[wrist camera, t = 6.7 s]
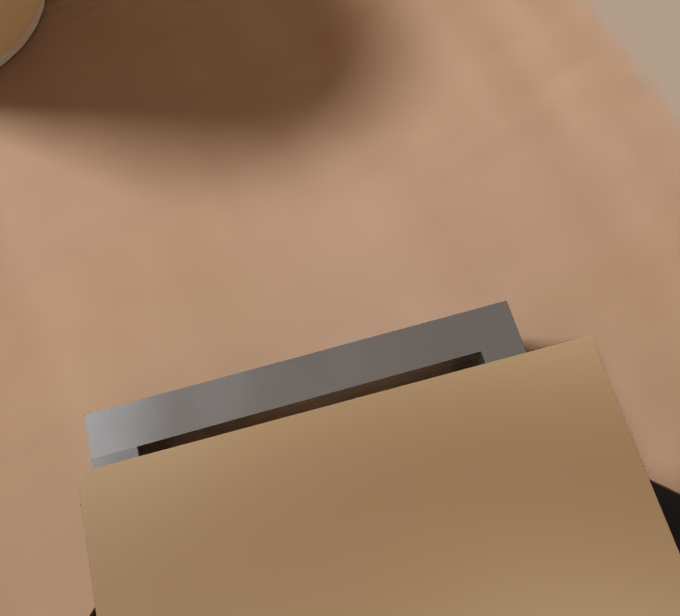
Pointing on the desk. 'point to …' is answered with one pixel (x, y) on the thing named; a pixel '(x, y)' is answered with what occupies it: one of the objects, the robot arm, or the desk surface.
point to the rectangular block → (397, 507)
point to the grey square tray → (303, 384)
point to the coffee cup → (17, 25)
